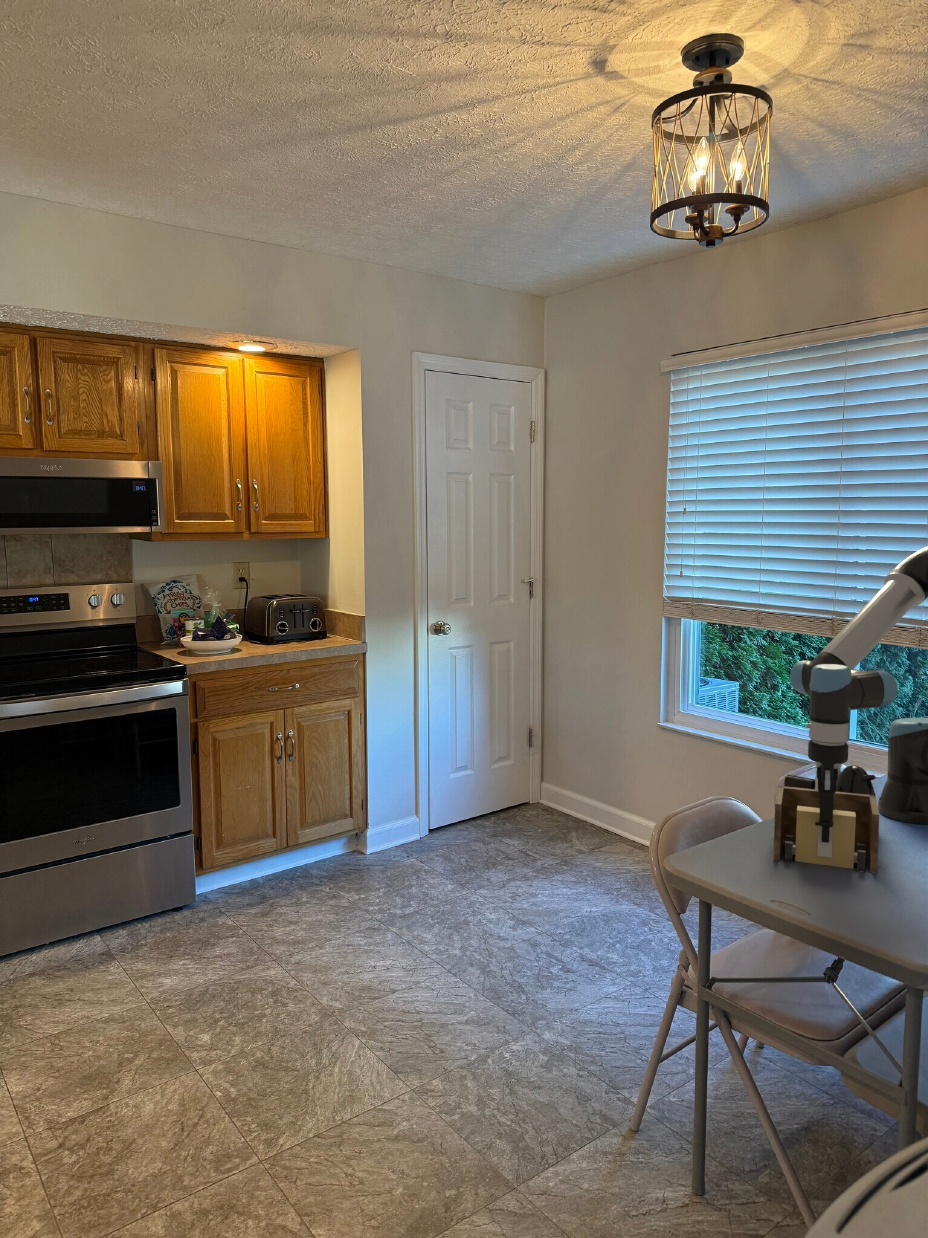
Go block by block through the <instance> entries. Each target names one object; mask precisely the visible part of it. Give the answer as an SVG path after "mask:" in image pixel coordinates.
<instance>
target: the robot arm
mask: <svg viewBox="0 0 928 1238" xmlns="http://www.w3.org/2000/svg"><path fill="white" fill-rule="evenodd" d="M883 581H884V585H883V586H882V587H881V588H880V589H879V590H878V591H877V592H876V593H875V594H874V595H873V597H872V598H871V599H869V601H868V602H867V603H866V604H865V605H864V606H863V607H862V608H861V609H860V610H859V611H858V612H857V613H856V614H855V616H853V618H852V619H850V621H849V622H848V623H847V624H846V625H844V627H843V628H842V629H841V630H840V631H839V632H838V633H837V634H836V635H835V636H834V638H832V640H830V642H829V643H828V644H827V645H826V646H825V647H824V648H823V649H822V650H821V651H820V652H819V654H817V656H816V657H815V658H814V659H813V660H810V659H808V660H799V661H797V662H796V663H795V664H794V665H793V666H792V668H791V670H790V674H789V680H790V681H789V682H790V684H791V687H792V688H793V689H794V690H795V691H796V692H798V693H800V694H803V695H806V696H809V717H808V718H809V721H808V722H809V723H806V724H805V727H806V729H809V730H808V738H809V739H810V740H808V745H807V746H808V749H807V757H808V759H809V760H811V761H813V762H820V763H822V764H820V767H818V766H817V768H816V770H817V778H818V791H819V792H820V803H819V808H820V817H819V822H815V825H817V826H818V851H817V856H822V857H830V858H832V837H833V801H834V793H835V792H836V781H837V780H838V768H834V764H842V765H843V764H846V763H847V762H848V760H849V744H848V742H849V741H850V718H851V715H850V713H851V711H856V710H864V709H865V710H866V709H878V708H881V707H885V706H888V705H891V704H892V703H893V702H894V701H895V699H896V698H897V696H898V682H897V681H896V679H895V677H894V676H893V675H892V674H891V673H890V672H888V671H886V670H876V669H871V670H869V671H868V670H861V669H856V668H857V667H858V665H859V664H860V663H861V662H862V661H863V660H864V659H865V657H867V656H868V655H869V653H870V652H872V650H873V649H874V648H875V647H876V646H877V645H878V644H879V643H880V642H881V641H882V639H884V638H885V637H886V635H887V634H888V633H889V632H890V631H891V630H892V629H893V628H894V627H895V626H896V625H897V623H899V621H901V619H902V618H903V617H904V616H905V615H906V614H907V613H908V612H909V611H910V610H911V608H912V607H914V606H920V605H922V603H924V602H925V600H927V599H928V546H925V547H923V548H921V549H919V550H917V551H915V552H914V553H912V554H911V555H909V556H907V558H905V559H904V560H902V561H901V562H899V563H898V564H897V565H896V566H895V567H894V568H893V569H892V570H891V571H890V572H888V574H887V575H886V576H885V578H884V580H883ZM887 739H888V740H887V741H888V742H887V743H888V744H887V745H888V747H887V748H888V749H887V773H886V774H887V776H886V782H885V784H884V786H883V788H882V791H881V795H880V797H879V798H878V801H877V806H878V811H879V814H881V815H883V816H885V817H887V818H891V819H893V820H896V821H900V822H906V823H909V824H910V823H911V824H921V825H928V717H908V718H907V717H906V718H899V719H895V720H893V721H892V722H891V723H890V725H889V734H888V736H887ZM846 742H847V743H846Z"/></svg>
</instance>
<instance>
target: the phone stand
mask: <svg viewBox="0 0 928 1238" xmlns="http://www.w3.org/2000/svg"><path fill="white" fill-rule="evenodd" d="M783 782H784V785H783V786H784V787H795V788H805V789H815V778H811V777H810V778H809V777H803V776H797V775H792V774H787V775H785V776H784V781H783Z"/></svg>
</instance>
